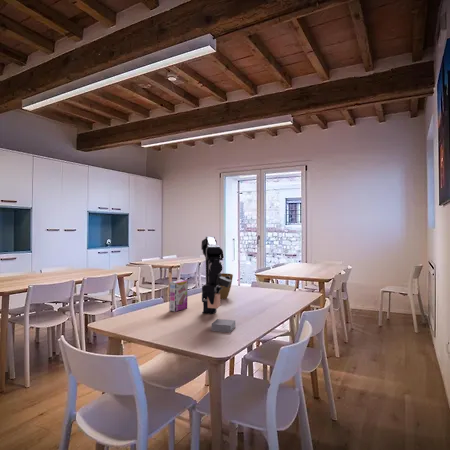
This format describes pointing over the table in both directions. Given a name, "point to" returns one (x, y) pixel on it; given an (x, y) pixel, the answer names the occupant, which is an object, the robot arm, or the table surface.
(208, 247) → the robot arm
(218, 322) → the plinth
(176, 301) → the candy bar box
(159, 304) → the table surface
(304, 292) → the table surface
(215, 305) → the cube
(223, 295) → the plant pot
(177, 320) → the table surface
